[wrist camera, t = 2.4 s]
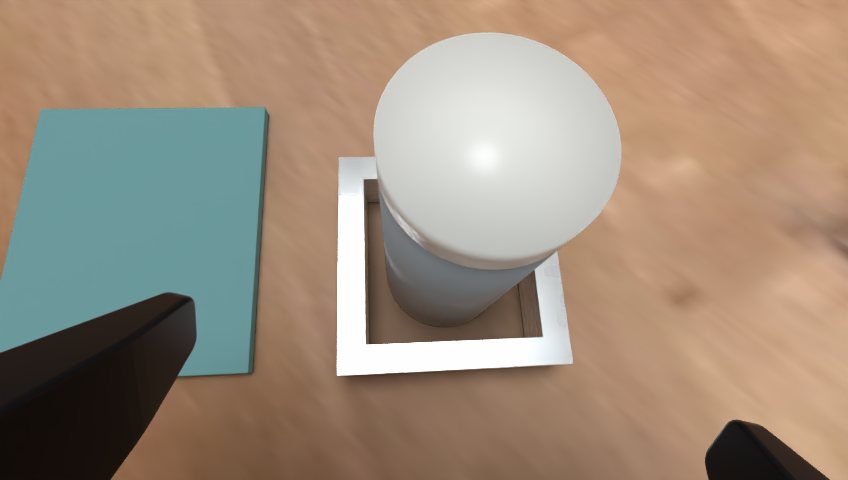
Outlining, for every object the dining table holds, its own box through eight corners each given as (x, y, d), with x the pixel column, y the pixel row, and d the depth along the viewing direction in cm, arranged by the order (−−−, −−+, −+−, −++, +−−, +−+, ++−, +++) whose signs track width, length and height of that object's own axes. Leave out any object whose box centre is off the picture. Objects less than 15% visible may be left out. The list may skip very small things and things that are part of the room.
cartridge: (504, 324, 19) (643, 250, 8) (388, 329, 19) (375, 258, 8) (493, 215, 21) (599, 32, 10) (385, 218, 21) (371, 32, 10)
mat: (252, 373, 18) (247, 372, 18) (-11, 385, 18) (-25, 386, 17) (268, 114, 22) (265, 107, 21) (50, 116, 21) (40, 109, 21)
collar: (551, 365, 19) (573, 363, 17) (344, 376, 18) (337, 375, 16) (527, 179, 22) (543, 154, 19) (345, 182, 21) (338, 157, 19)
